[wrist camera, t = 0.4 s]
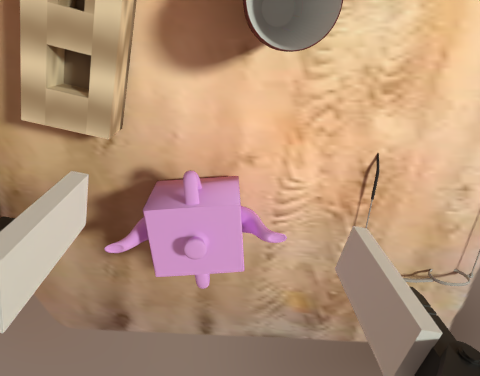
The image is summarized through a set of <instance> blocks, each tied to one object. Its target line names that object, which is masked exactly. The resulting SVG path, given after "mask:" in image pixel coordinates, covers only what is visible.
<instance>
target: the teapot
mask: <svg viewBox="0 0 480 376" xmlns="http://www.w3.org/2000/svg"><path fill="white" fill-rule="evenodd" d="M143 213H144V217H143V218H142V219H141V220H140V221H139V222H138V223H137V224H136V225H135V227H134V228H133V229H132V231H131V232H130V233H129V234H128V235H127V236H126V237H125V238H123V239H122V240H120V241H118V242H115V243H112V244H110V245H107V246H106V247H105V248H104V250H105V251H106V252H109V253H120V252H124V251H126V250H129V249H131V248H133V247H135V246H137V245H138V244H140V243H142V242H144V241H146V240H149V244H150V249H151V254H152V259H153V264H154V270H155V275H156V277H164V276H181V275H195V278H196V283H197V286H198V287H200V288H207V287H208V286H209V282H210V274H213V273H227V272H240V271H244V255H243V238H242V232H246V233H252V234H254V235H256V236H257V237H258V238H260V239H262V240H264V241H267V242H272V243H278V242H283V241H285V240H286V239H287V237H286V236H285V235H284V234H281V233H277V232H273V231H271V230H269V229H268V228H267V227H266V226H265V225H264V224H263V222H262V221H261V219H260V218H259V216H258V215H257V214H256V213H255V212H254V211H253V210H251V209H249V208H246V207H243V206H241V204H240V191H239V178H238V176H230V177H213V178H199V176H198V174H197V173H196V172H195V171H187V172H186V173H185V174H184V177H183V179H181V180H165V181H157V182H156V184H155V186H154V188H153V190H152V192H151V194H150V196H149V198H148V200H147V202H146V204H145V206H144V208H143Z"/></svg>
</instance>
